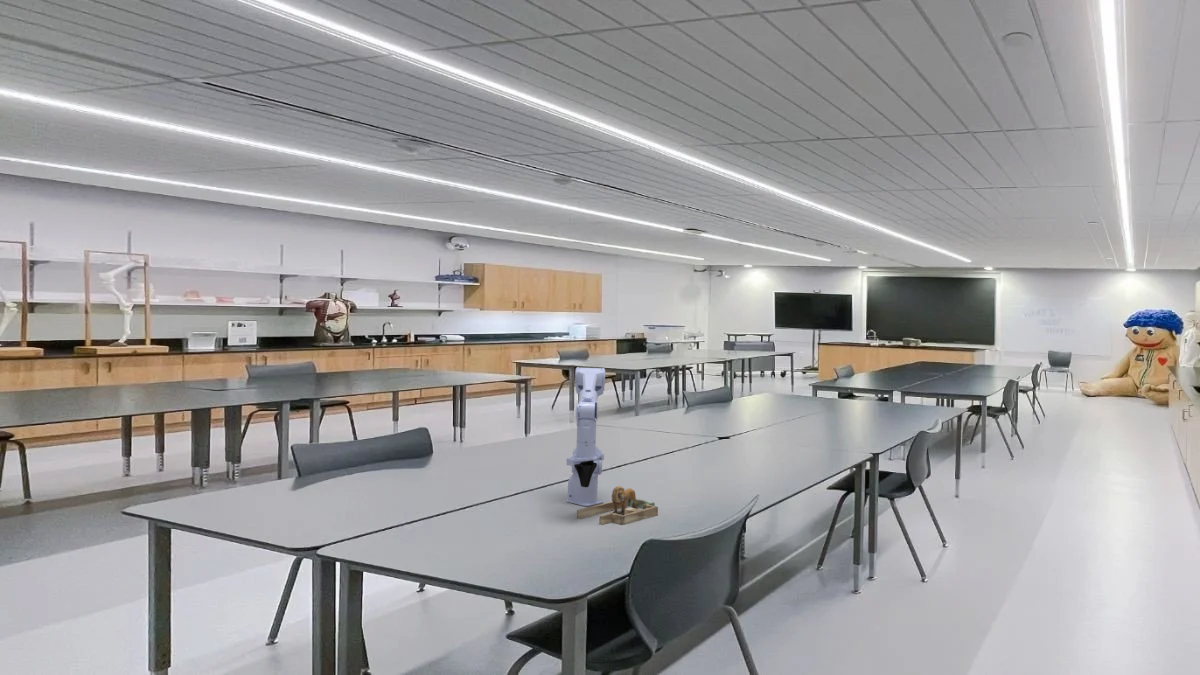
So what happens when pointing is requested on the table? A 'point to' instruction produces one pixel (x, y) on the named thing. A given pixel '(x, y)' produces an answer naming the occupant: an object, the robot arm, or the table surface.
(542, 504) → the table surface
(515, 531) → the table surface
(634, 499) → the lion figurine
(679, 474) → the table surface
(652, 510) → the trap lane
